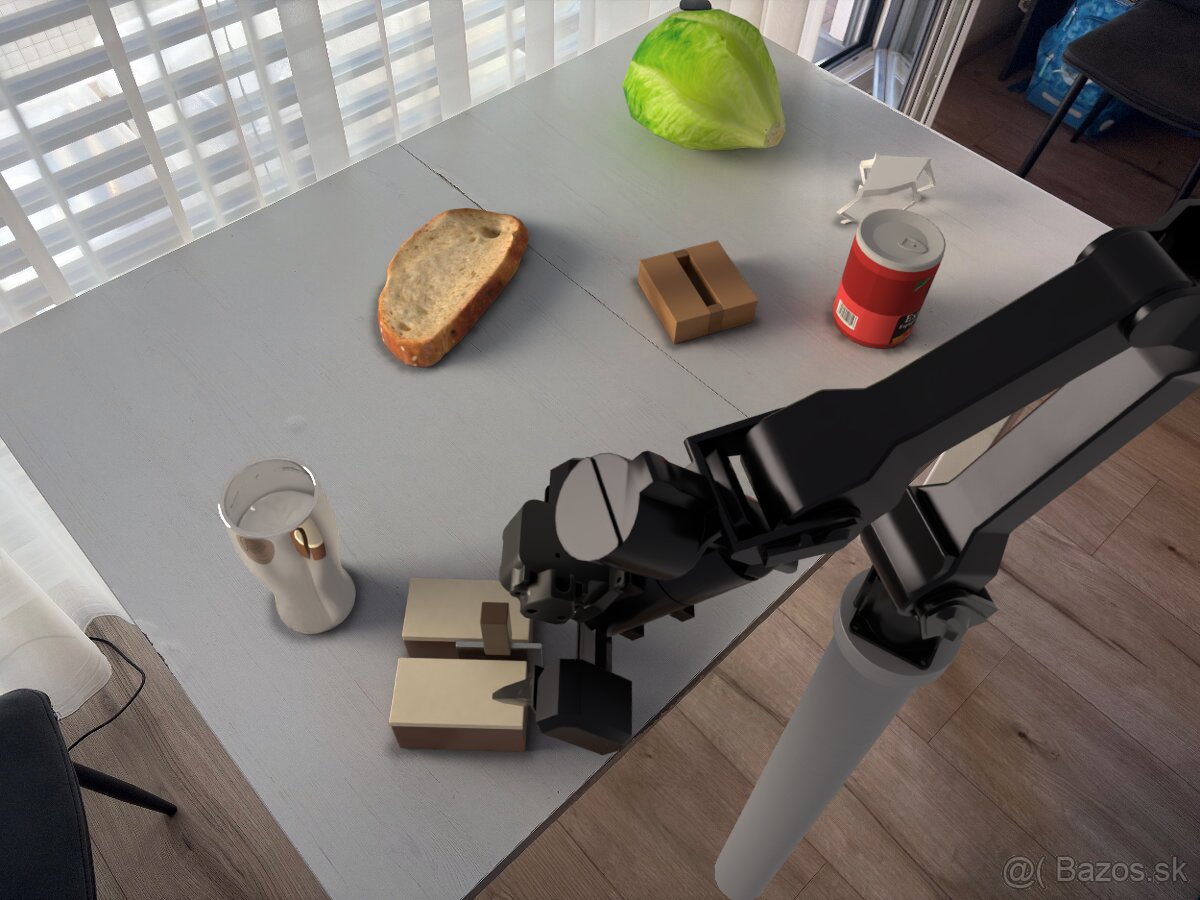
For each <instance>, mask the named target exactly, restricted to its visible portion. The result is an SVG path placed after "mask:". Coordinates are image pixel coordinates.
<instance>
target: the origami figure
mask: <svg viewBox="0 0 1200 900" xmlns="http://www.w3.org/2000/svg"><path fill="white" fill-rule="evenodd" d="M874 153H875V154H874V156H873V158H870V159H865V160H861V161H860V163H859V165H858V167H859V172H860V175H861V176H860V177H861V181H862V184H859V186H858V189H857V191H856V194H855V197H854V198H853V199H852V200H850V201H849V202H848V203H846V204H845V205H843V206H842V207H841V208H839V209H838V210H837V211H836V213H837V214H838V215H840V216H842V217H843V218H845V219H842V220H841V221H840V224H842V225H844V224H848V223H851V222H854V221H855V217H853V216H851V215H850V214H848V213H846V212H845V211H846V210H848V209H850V207H852V206H854V204H856V203H857V202H859V201H860V200H861V199H863V198H870V197H879V196H888V195H893V194H895V193H898V192H901V191H904V190H908V189H910V188H911V192H912V195H913V200H912V202H910V203H909V204H907V205H906V206H905V207H903V208H902V209H901V210H906V211H907V210H908V209H910V208H911V207H913V206H915V205H916V204H917V203H919V202H920V200H921V199H922V196H921V195H920V193H919V192H922V191H926V190H929V189H932V188H934V187H936V186H937V183H936V178H935V175H934V171H933V168H932V164H931V162H932V157H927V156H926V157H925V156H924V157H923V156H894V155H893V156H891V155H880V154H879V153H877V152H874ZM867 169H870V170H869V171H868V173H867ZM923 173H925V174H926V176H927V179H928V181H929V183H928V184H926V185H924V186H922V187H919V188H917V186H916V185H917V182H918V180H919V179H920V178H921V176H922V174H923Z"/></svg>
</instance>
